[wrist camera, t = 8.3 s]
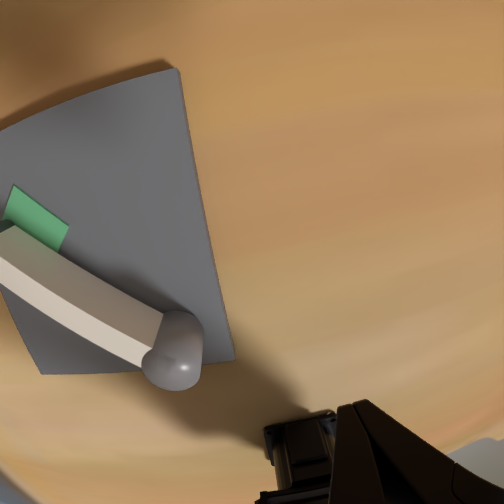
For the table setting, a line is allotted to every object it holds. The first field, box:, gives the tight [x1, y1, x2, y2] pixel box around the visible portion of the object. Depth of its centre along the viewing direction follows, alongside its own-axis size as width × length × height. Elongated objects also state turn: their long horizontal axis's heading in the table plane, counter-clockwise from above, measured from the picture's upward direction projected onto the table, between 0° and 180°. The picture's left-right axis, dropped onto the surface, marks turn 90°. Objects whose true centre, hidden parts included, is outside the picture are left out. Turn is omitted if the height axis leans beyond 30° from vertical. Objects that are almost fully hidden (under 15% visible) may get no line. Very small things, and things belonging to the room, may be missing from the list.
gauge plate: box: [0, 68, 235, 374], centre depth 18 cm, size 18×16×1 cm
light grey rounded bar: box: [0, 219, 204, 391], centre depth 16 cm, size 16×3×4 cm, turn 58°
